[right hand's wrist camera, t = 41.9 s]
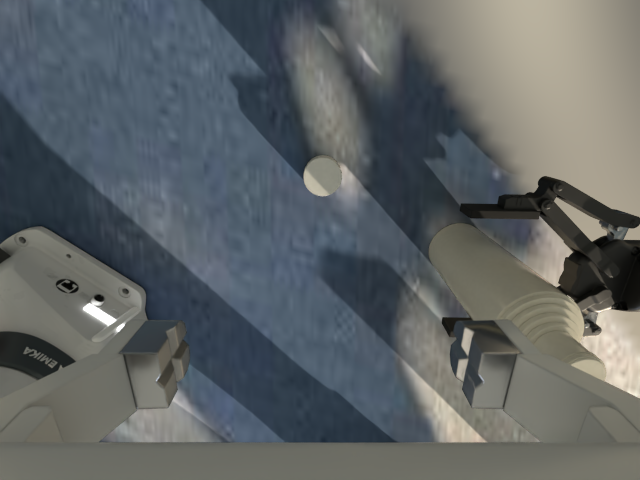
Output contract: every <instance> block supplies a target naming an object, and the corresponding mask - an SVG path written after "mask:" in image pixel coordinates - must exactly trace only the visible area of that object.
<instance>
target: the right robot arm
mask: <svg viewBox="0 0 640 480" xmlns="http://www.w3.org/2000/svg"><path fill="white" fill-rule="evenodd" d="M24 238H25V239H26V240H25V239H24ZM125 288H126V289H128V291H126V289H125ZM145 305H146V293H145V291H144V289H143V288H142V287H140V286H139V285H137V284H136V283H134V282H132V281H131V280H129V279H128V278H126V277H124V276H123V275H121V274H119V273H118V272H116V271H115V270H113V269H111V268H110V267H108V266H107V265H105V264H103V263H102V262H100V261H98V260H97V259H95V258H94V257H92V256H90V255H89V254H87V253H86V252H84V251H82V250H81V249H79V248H77V247H76V246H74V245H73V244H71V243H69V242H68V241H66V240H65V239H63V238H61V237H60V236H58V235H56V234H55V233H53V232H52V231H50V230H48V229H46V228H44V227H42V226H38V227H31V228H27V229H24V230H22V231H20V232H18V233H16V234H14V235H12V236H11V237H9V238H7V239H6V240H5V241H3V242H2V243H1V244H0V480H640V399H639V398H637V397H635V396H633V395H631V394H629V393H627V392H625V391H623V390H621V389H619V388H617V387H615V386H613V385H611V384H609V383H606V382H604V381H602V380H600V379H598V378H596V377H594V376H592V375H590V374H588V373H586V372H584V371H582V370H580V369H578V368H576V367H573V366H571V365H569V364H567V363H565V362H563V361H561V360H559V359H557V358H555V357H553V356H551V355H549V354H542V353H541V352H540V351H539V350H538V349H537V348H536V347H535V346H534V345H533V344H532V342H531V341H530V340H529V339H528V338H527V337H526V336H525V335H524V334H523V333H522V332H521V331H520V330H519V329H518V327H517V326H516V325H515V324H514V323H513V322H512V321H510V320H508V319H504V320H476V321H456V323H455V325H454V331H453V333H454V335H455V337H456V338H457V340H456V341H455V342H454V343H453V344H452V345H451V350H450V361H451V366H452V370H453V372H454V374H455V376H456V378H457V379H459V380H460V381H462V382H463V388H462V390H463V392H464V394H465V396H466V398H467V400H468V401H469V403H470V405H471V407H472V408H484V409H504V410H503V411H505V412H506V413H507V414H508V415H509V416H511V417H512V418H513V419H514V420H515V421H517V422H518V423H519V424H520V425H521V426H523V427H524V428H525V429H526V430H528V431H529V432H530V433H531V434H532V435H534V436H535V437H536V438H537V439H538V440H540V441H541V442H542V443H305V442H190V443H108V442H99V441H100V440H102V439H103V438H104V437H105V436H107V435H108V434H109V433H110V432H111V431H113V430H114V429H115V428H116V427H117V426H119V425H120V424H121V423H122V422H124V421H125V420H126V419H127V418H128V417H130V416H131V415H132V414H133V413H134V412H136V411H137V410H136V409H155V408H168V407H169V405H170V403H171V402H172V400H173V398H174V396H175V394H176V392H177V390H178V388H177V382H178V381H180V380H181V379H183V378H184V376H185V374H186V372H187V370H188V366H189V362H190V349H189V345H188V344H187V343H186V342H185V341H184V340H183V338H184V337H185V335H186V333H187V331H186V326H185V323H184V322H183V321H182V320H148V319H147V316H146V313H145Z"/></svg>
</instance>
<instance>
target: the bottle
mask: <svg viewBox="0 0 640 480" xmlns="http://www.w3.org/2000/svg"><path fill="white" fill-rule="evenodd" d="M429 259H430V261H431V263H432V265H433V266H434V268H435V269H436V271H437V272H438V273H439V275H440V276H441V278H442V279H443V280H444V282H445V283H446V285H447V286H448V287H449V289H450V290H451V291H452V293H453V294H454V296H455V297H456V298H457V300H458V301H459V303H460V304H461V305H462V307H463V308H464V310H465V311H466V312H467V314H468V315H469V317H470V318H471V319H472V321H476V320H504V319H508V320H510V321H512V322H513V323H514V324H515V325H516V326H517V327H518V329H519V330H520V331H521V332H522V333H523V334H524V335H525V336H526V337H527V338H528V339H529V340H530V341H531V342H532V344H533V345H534V346H535V347H536V348H537V349H538V350H539V351H540V352H541V353H542V354H549V355H551V356H553V357H555V358H557V359H559V360H561V361H563V362H565V363H567V364H569V365H571V366H573V367H576V368H578V369H580V370H582V371H584V372H586V373H588V374H590V375H592V376H594V377H596V378H598V379H600V380H602V381H604V380H605V378H606V368H605V366H604V363H603V362H602V361H601V360H600V359H599V358H598V357H597V356H596V355H594V354H593V353H591V352H589V351H588V350H587V349H586V348H585V347H584V346H582V345H581V344H580V341H581V338H582V336H583V332H584V320H583V316H582V313H581V311H580V308H579V307H578V305H577V304H576V303H575V302H574V301H573V300H572V299H571V298H569V297H568V296H567V295H565V294H564V293H563V292H561V291H560V290H559V289H557V288H556V287H555V286H553V285H552V284H551V283H549V282H548V281H547V280H545V279H544V278H543V277H541V276H540V275H539V274H537V273H536V272H535V271H533V270H532V269H531V268H529V267H528V266H527V265H525V264H524V263H523V262H521V261H520V260H519V259H517V258H516V257H515V256H513V255H512V254H511V253H509V252H508V251H507V250H505V249H504V248H503V247H501V246H500V245H499V244H497V243H496V242H495V241H493V240H492V239H491V238H489V237H488V236H487V235H485V234H484V233H482V232H481V231H480V230H478V229H477V228H476V227H474V226H472V225H470V224H465V223H457V224H452V225H449V226H447V227H445V228H443V229H442V230H440V231H439V232H438V233H437V234H436V235H435V236H434V238H433V239H432V241H431V243H430V247H429Z"/></svg>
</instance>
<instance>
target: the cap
mask: <svg viewBox="0 0 640 480" xmlns="http://www.w3.org/2000/svg"><path fill="white" fill-rule="evenodd" d="M341 173H342V172H341V170H340V165H338V163H337V161H335V160H334V159H333V158H331V157H329V156H328V155H327V156H326V155H320V156H316V157H314V158H312V159H311V160H310V161H309V162H308V163H307V166H305V171H304V174H303V175H304V183H305V185H306V187H307V188H308V190H309V191H310V192H312V193H313V194H315V195H319V196H327V195H330V194H332V193H334V192H335V191H336V190H337V189H338V187H339V186H340V184H341V180H342V174H341Z"/></svg>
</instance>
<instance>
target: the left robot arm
mask: <svg viewBox="0 0 640 480" xmlns="http://www.w3.org/2000/svg"><path fill="white" fill-rule="evenodd" d="M538 186H539V187H538V188H537V190H536V191H535V192H534V193H532V192H529V193H527V194H525V195H502V196H499V199H498V204H461V207H460V211H461V212H462V213H464V214H465V215H467V216H468V217H469V218H491V219H539V215H540V217H541V218H542V219H543V220H544V221H545V222H546V223H547V224H548V225H549V226H550V227H551V228H552V229H553V230H554V231H555V232H556V233H557V234H558V235H559V236H560V237H561V238H562V239H563V240H564V243H565V244H566V245H567V246H568V247H569V248H570V249H571V250H572V251H573V253H572V254H571V255H570V256H569V257H566V258H565V261H564V271H563V273H562V274H561V276H560V279H559V282H558V283H559V284H560V286H558V287H557V289H559V290H560V291H561V292H563V293H564V294H565V295H568V296H570V297H571V298H572V299H573V300H574V302H575V303H576V304H577V305H578V307H579V308H580V311H581V313H582V316H583V320H584V332H583V336H582V337H587V336H596V335H599V334H600V333H601V328H600V327H599V326H598V325H596V319H597V315H598V313H599V312H602V311H605V310H608V309H614V310H620V311H629V312H640V240H623V239H624V237H625V235H626V233H627V231H628V229H629V228H636V227H637V226H639V224H640V218H639V217H637V216H634V215H631V214H628V213H625V212H622V211H619V210H614V209H610V208H609V207H607V206H605V205H603V204H602V203H600V202H598V201H597V200H595V199H593V198H592V197H590V196H588V195H587V194H585V193H583V192H581V191H580V190H578V189H576V188H575V187H573V186H571V185H570V184H568V183H566V182H564V181H561V180H558V179H555V178H551V177H547V176H544V177H542V178H540V179H539V181H538ZM556 197H557V198H559V199H561V200H563V201H564V202H566V203H568V204H570V205H571V206H573V207H575V208H577V209H578V210H580V211H582V212H583V213H585V214H587V215H589V216H591V217H593V218H595V219H598V220H600V221H599V224H601V227H602V228H603V229H605V230H606V231H607V236H603V237H600V238H598V239H596V240H595V241H593V242H591V241H590V240H589V239H588V238H587V236H586V235H585V234H584V233H583V232H582V231H581V230H580V229H579V228H578V227H577V226H576V225H575V224H574V223H573V222H572V220H571V219H570V218H569V217H568V216H567V215H566V214H565V213H564V212H563V211H562V210H561V209H560V208H559V207H558V206H557V204H556V203H555V202H554V200H555V198H556ZM456 321H472V319H471V318H447V317H443V318H442V324H443V326H444V328H445V330H446V331H447V333H448V335H449V337H455V335H454V333H453V331H454V325H455V323H456Z"/></svg>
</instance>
